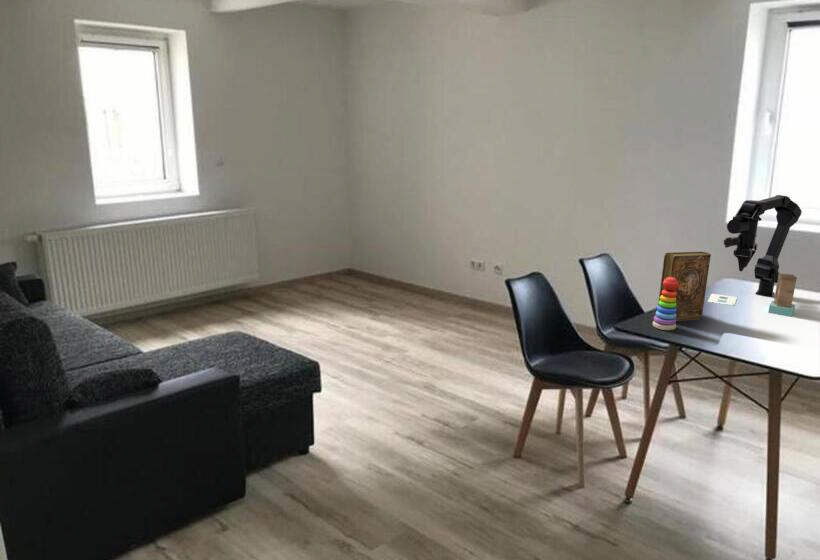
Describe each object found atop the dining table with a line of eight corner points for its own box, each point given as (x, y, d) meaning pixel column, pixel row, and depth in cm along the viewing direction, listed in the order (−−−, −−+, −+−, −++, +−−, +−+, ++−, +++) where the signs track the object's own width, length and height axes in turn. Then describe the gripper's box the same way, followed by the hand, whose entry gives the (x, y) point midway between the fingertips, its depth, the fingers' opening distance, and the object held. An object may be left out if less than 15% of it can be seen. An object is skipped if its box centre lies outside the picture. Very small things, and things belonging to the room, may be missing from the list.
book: (695, 314, 251) (703, 251, 244) (704, 319, 246) (713, 254, 239) (656, 316, 248) (664, 252, 241) (664, 321, 242) (673, 256, 236)
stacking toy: (673, 332, 231) (680, 281, 226) (650, 328, 235) (656, 278, 230) (677, 326, 237) (684, 276, 232) (654, 322, 241) (661, 273, 236)
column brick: (773, 302, 258) (778, 273, 255) (787, 303, 257) (792, 274, 254) (776, 306, 254) (782, 276, 250) (791, 307, 252) (796, 277, 249)
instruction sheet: (711, 293, 280) (711, 293, 280) (737, 297, 275) (737, 296, 275) (707, 301, 268) (707, 301, 268) (734, 305, 263) (734, 305, 263)
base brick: (771, 307, 261) (772, 300, 261) (793, 311, 257) (795, 304, 256) (768, 312, 255) (769, 305, 254) (791, 316, 251) (792, 309, 250)
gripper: (731, 226, 277) (725, 262, 281) (722, 232, 262) (717, 270, 266) (760, 229, 271) (754, 266, 275) (753, 236, 256) (747, 274, 260)
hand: (742, 269), depth 269 cm, fingers open, 9 cm apart
